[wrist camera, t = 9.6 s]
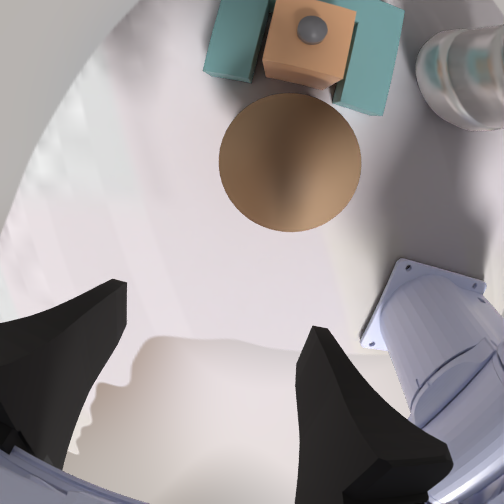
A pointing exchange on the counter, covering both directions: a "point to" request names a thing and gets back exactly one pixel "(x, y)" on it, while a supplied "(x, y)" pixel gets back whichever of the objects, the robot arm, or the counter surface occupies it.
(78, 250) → the counter surface
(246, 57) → the notch board
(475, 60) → the plastic bottle
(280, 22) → the plug
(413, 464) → the robot arm
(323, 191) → the bobbin
